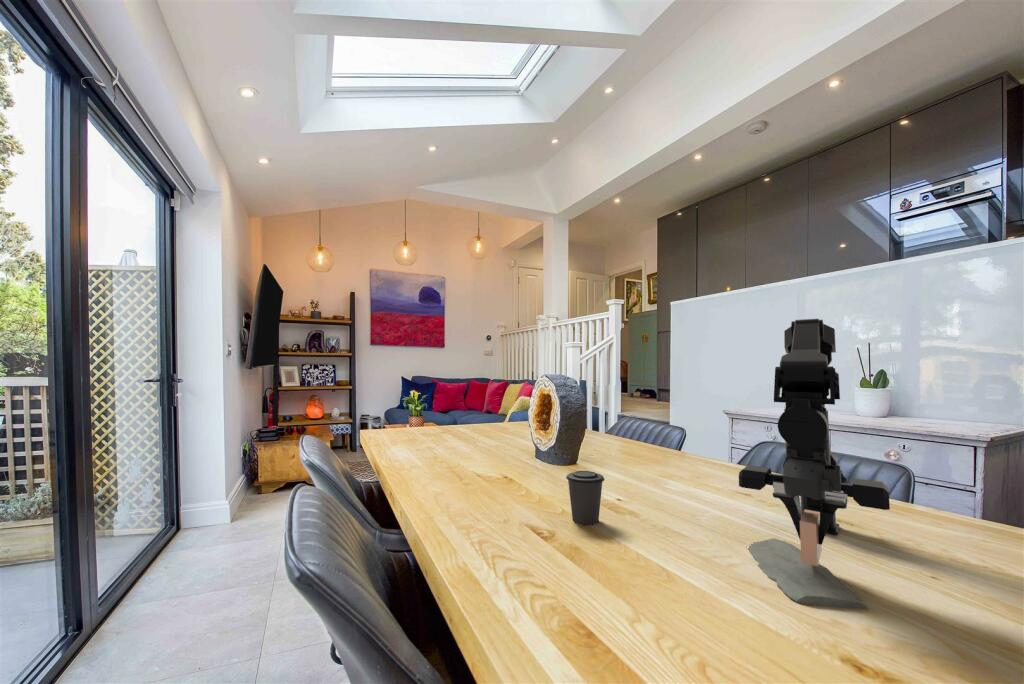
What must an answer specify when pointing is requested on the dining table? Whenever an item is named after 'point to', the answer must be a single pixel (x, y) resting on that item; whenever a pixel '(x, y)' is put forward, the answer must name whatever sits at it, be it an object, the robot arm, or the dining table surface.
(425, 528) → the dining table surface
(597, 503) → the coffee cup
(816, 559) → the block
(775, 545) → the stone slab
